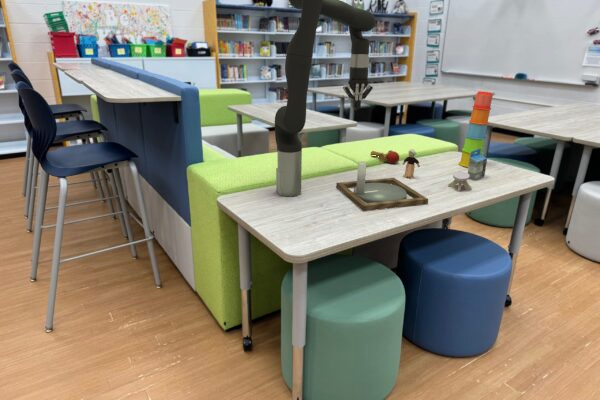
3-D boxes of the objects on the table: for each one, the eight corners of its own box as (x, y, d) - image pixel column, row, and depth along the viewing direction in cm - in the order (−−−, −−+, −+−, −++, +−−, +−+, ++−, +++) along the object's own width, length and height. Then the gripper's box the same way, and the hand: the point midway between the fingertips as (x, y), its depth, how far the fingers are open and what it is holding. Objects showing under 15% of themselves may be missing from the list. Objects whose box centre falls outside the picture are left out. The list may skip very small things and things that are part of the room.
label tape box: (474, 181, 183) (479, 153, 179) (465, 178, 186) (470, 151, 182) (484, 177, 189) (489, 149, 184) (475, 174, 192) (480, 148, 187)
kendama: (365, 160, 217) (390, 164, 202) (367, 147, 216) (392, 150, 201) (377, 160, 222) (402, 164, 207) (378, 148, 221) (403, 151, 206)
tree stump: (452, 182, 181) (454, 170, 179) (474, 187, 176) (476, 174, 174) (444, 189, 173) (446, 175, 171) (467, 193, 169) (469, 180, 167)
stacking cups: (462, 161, 212) (473, 89, 200) (483, 164, 207) (496, 91, 194) (455, 166, 204) (466, 92, 192) (477, 169, 199) (490, 93, 186)
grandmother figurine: (399, 177, 187) (402, 149, 182) (401, 175, 190) (404, 147, 185) (417, 179, 184) (421, 151, 179) (419, 177, 187) (422, 149, 183)
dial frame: (363, 211, 150) (363, 205, 150) (336, 187, 174) (336, 182, 173) (427, 204, 158) (428, 198, 157) (393, 182, 181) (393, 177, 180)
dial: (400, 207, 153) (403, 171, 148) (347, 199, 161) (348, 164, 156) (410, 190, 170) (414, 157, 165) (362, 183, 178) (364, 151, 173)
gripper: (347, 66, 167) (345, 111, 173) (378, 66, 171) (375, 110, 177) (340, 65, 174) (338, 108, 180) (370, 65, 177) (367, 107, 183)
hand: (356, 109), depth 178 cm, fingers closed
